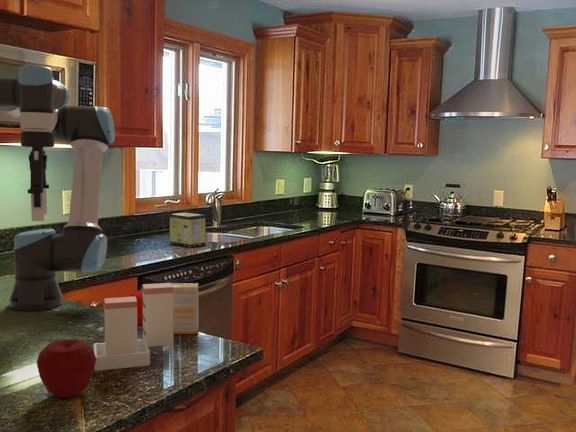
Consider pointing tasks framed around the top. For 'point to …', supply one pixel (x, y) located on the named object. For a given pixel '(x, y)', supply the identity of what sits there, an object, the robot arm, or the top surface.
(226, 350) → the top surface
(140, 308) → the tomato
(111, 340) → the stub
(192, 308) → the supplement box
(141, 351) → the tray
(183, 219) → the protein box
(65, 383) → the apple
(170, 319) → the block
